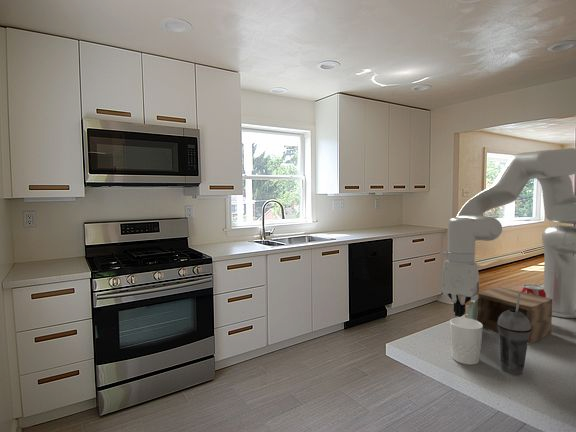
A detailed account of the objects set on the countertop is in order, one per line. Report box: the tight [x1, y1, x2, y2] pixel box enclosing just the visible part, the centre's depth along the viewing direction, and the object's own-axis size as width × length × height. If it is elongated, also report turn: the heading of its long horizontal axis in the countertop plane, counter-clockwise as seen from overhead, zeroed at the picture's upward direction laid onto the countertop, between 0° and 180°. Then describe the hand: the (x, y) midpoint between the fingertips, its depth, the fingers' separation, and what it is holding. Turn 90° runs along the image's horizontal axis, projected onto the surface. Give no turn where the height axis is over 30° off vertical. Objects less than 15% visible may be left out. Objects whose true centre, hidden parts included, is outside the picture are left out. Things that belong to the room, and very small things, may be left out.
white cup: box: [449, 317, 484, 366], centre depth 95 cm, size 8×8×10 cm
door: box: [464, 300, 478, 321], centre depth 110 cm, size 2×16×10 cm, turn 147°
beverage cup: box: [497, 293, 531, 377], centre depth 88 cm, size 7×7×20 cm
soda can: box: [520, 284, 546, 298], centre depth 119 cm, size 7×7×12 cm
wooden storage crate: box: [477, 286, 553, 345], centre depth 113 cm, size 13×16×11 cm
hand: (459, 315), depth 110 cm, fingers closed
